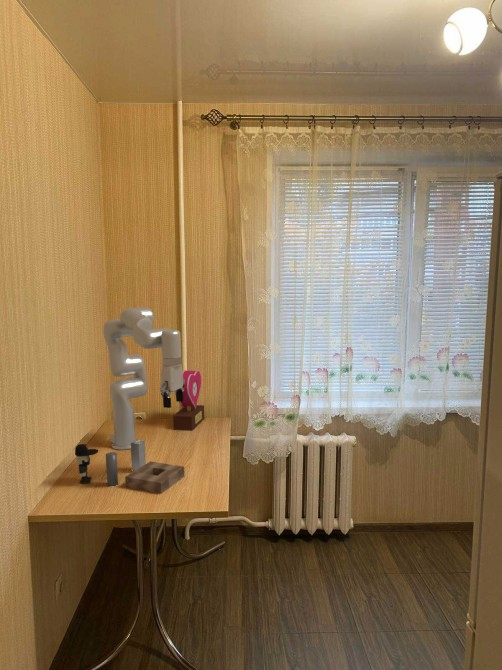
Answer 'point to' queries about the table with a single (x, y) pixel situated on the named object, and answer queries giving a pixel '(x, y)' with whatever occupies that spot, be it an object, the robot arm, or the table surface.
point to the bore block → (154, 477)
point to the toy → (84, 461)
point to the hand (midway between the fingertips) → (173, 404)
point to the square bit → (138, 454)
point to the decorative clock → (189, 403)
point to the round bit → (112, 469)
